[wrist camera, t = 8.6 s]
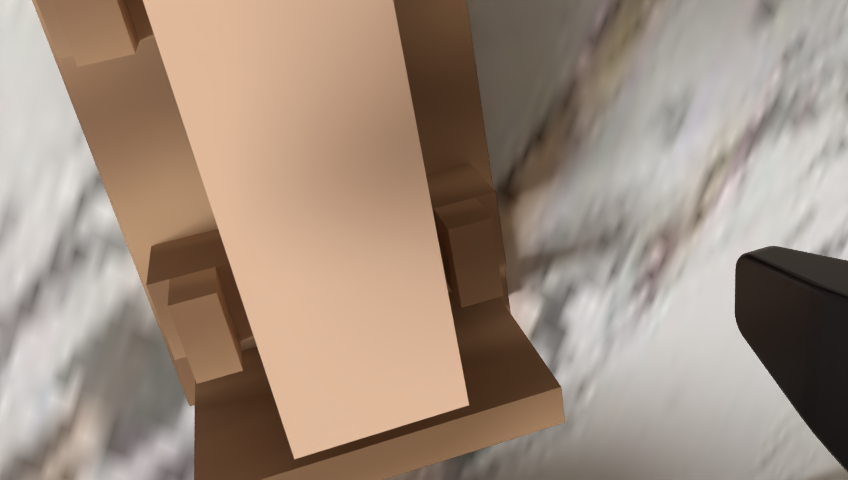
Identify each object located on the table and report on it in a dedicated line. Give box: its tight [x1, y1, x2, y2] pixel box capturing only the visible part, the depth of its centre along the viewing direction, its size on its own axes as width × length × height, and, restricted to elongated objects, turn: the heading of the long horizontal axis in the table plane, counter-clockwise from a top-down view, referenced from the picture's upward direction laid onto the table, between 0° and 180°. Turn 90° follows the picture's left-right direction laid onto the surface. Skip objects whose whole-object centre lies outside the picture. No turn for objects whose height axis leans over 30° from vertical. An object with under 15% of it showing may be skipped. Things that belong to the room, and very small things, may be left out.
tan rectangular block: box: [143, 0, 469, 459], centre depth 15 cm, size 10×4×4 cm, turn 11°
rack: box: [32, 0, 565, 480], centre depth 17 cm, size 14×9×6 cm, turn 10°
